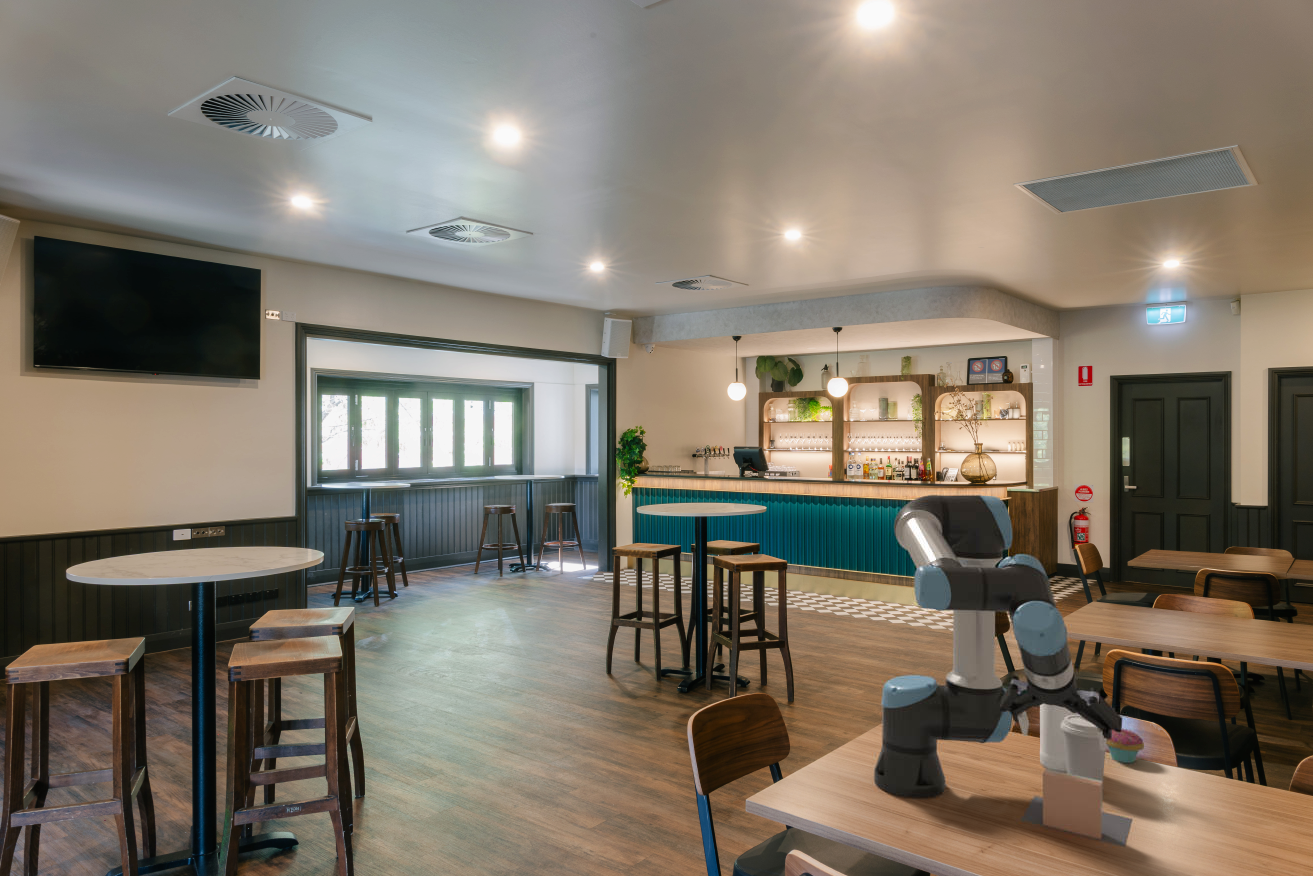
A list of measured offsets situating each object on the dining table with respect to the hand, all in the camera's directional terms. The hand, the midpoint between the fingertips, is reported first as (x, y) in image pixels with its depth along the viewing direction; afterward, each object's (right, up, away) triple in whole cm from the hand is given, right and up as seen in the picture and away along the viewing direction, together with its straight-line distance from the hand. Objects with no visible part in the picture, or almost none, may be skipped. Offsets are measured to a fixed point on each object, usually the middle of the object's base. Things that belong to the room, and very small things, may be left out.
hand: (1063, 736), depth 146 cm
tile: (+6, -21, +8) cm, 23 cm away
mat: (+9, -22, +12) cm, 26 cm away
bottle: (+20, -23, +41) cm, 51 cm away
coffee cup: (+19, -22, +28) cm, 41 cm away
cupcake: (+38, -23, +45) cm, 63 cm away
